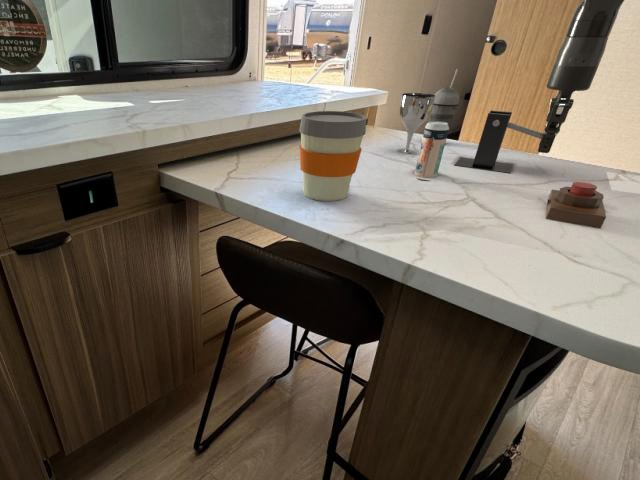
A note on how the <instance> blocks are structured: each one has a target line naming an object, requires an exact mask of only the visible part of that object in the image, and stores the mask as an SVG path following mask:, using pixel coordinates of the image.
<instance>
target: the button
mask: <svg viewBox="0 0 640 480" xmlns="http://www.w3.org/2000/svg"><path fill="white" fill-rule="evenodd" d="M570 187H571V188H570V191H569V192H570V193H572V194H576V195H581V196H593V195H594V193H595V191H597V188H598V186H597V185H596V184H594V183H590V182H585V181H574V182H573V183H572V184H571V186H570Z"/></svg>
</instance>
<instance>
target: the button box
mask: <svg viewBox="0 0 640 480" xmlns="http://www.w3.org/2000/svg"><path fill="white" fill-rule="evenodd" d="M570 188H571V186H562V187H559V189H554V188H553V189H551V190H550V193H549V197H548V199H547V203H546V213H545V220H549V221H556V222H561V223H566V224H573V225H578V226H583V227H588V228H589V227H590V228H595V229H601V228H602V226H603V225H604V223H605V221H606V219H607V215H606V210H605V205H604V201H603V200H604V198H605V195H604V194H603V193H601V192H599V191H597V190H596V191H595V193H594V195H593V196H581V195H576V194H572V193H570V192H569V191H570Z"/></svg>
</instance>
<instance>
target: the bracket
mask: <svg viewBox="0 0 640 480" xmlns="http://www.w3.org/2000/svg"><path fill="white" fill-rule="evenodd" d="M512 114H513V111H502V110H490V112H488V113H487V116H486V120H485V122H484V125H483V129H482V132H481V135H480V139H479V143H478V145H477V149H476V153H475V156H474V158H471V157H464V156H460V157H459V158H458V159H457V161H456V162H455V163H454V165H453V167H460V168H466V169H467V168H468V169H473V170H481V171H487V172H495V173H502V174H511V172H512V169H513V167H514V163H512V162H511V163H509V162H502V161H497V159H498V156H499V153H500V150H501V148H502V145H503V142H504V138H505V135H506V132H507V129H508V128H507V124H508V122H510V120H511V117H512Z"/></svg>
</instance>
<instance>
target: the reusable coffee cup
mask: <svg viewBox="0 0 640 480" xmlns="http://www.w3.org/2000/svg"><path fill="white" fill-rule="evenodd" d="M366 131H367V116H366V115H364V114H362V113H357V112H351V111H341V110H340V111H339V110H319V111H318V110H317V111H309V112H304V113H303V114H302V115H301V119H300V124H299V133H300V140H301V141H300V143H301V144H300V145H299V166H300V168H299V169H300V171H301V172H302V189H303V190H302V191H303V192H302V193H303V195H304V196H305V197H306V198H308V199H312V200H315V201H321V202H336V201H341V200H344V199H345V198H347V196H348V192H349V189H350V184H351V181H352V177H353V175H354V174H355V173H356V170H357V167H358V164H359V160H360V157H361V154H362V150H363V149H362V147H361V145H362V141H363V137H364V136H365V135H366V134H367V133H366Z"/></svg>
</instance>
